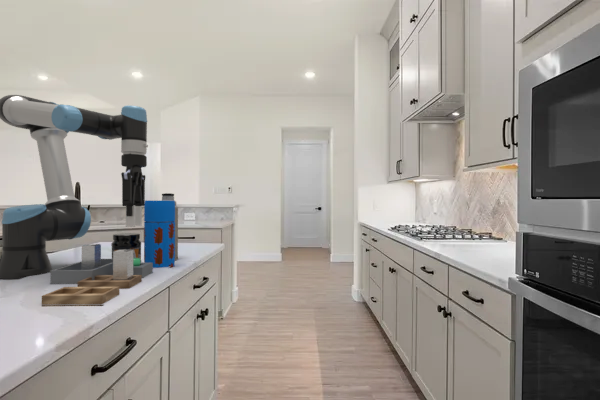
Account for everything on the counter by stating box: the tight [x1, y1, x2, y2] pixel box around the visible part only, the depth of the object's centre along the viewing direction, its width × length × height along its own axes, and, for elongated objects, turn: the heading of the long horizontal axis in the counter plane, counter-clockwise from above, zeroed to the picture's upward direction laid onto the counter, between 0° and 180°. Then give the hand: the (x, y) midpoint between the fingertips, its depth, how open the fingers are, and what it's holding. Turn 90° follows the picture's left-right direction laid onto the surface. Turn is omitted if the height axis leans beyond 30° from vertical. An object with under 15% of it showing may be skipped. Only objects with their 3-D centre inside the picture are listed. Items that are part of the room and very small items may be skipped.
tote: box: [49, 258, 113, 285], centre depth 118 cm, size 12×22×4 cm, turn 2°
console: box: [133, 262, 154, 279], centre depth 120 cm, size 9×9×4 cm
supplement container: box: [110, 232, 142, 263], centre depth 142 cm, size 10×10×12 cm
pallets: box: [41, 275, 143, 307], centre depth 99 cm, size 14×24×2 cm, turn 2°
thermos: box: [143, 200, 176, 269], centre depth 139 cm, size 11×11×25 cm
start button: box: [133, 258, 140, 266], centre depth 120 cm, size 4×4×3 cm
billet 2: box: [113, 249, 133, 280], centre depth 107 cm, size 4×4×10 cm
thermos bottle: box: [160, 192, 179, 261], centre depth 155 cm, size 8×8×28 cm
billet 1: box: [81, 243, 102, 270], centre depth 118 cm, size 4×4×10 cm
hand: (133, 225), depth 120 cm, fingers open, 4 cm apart
